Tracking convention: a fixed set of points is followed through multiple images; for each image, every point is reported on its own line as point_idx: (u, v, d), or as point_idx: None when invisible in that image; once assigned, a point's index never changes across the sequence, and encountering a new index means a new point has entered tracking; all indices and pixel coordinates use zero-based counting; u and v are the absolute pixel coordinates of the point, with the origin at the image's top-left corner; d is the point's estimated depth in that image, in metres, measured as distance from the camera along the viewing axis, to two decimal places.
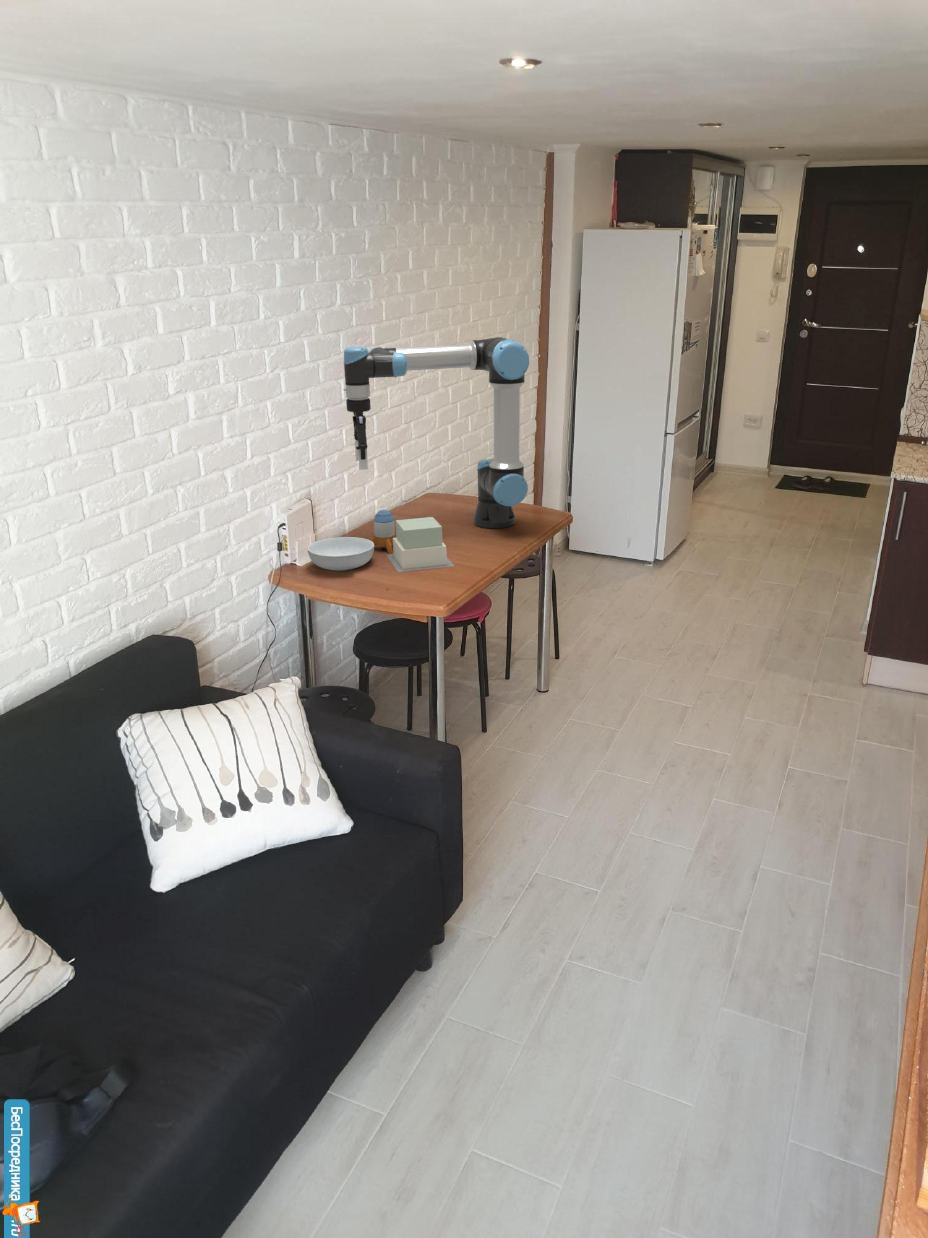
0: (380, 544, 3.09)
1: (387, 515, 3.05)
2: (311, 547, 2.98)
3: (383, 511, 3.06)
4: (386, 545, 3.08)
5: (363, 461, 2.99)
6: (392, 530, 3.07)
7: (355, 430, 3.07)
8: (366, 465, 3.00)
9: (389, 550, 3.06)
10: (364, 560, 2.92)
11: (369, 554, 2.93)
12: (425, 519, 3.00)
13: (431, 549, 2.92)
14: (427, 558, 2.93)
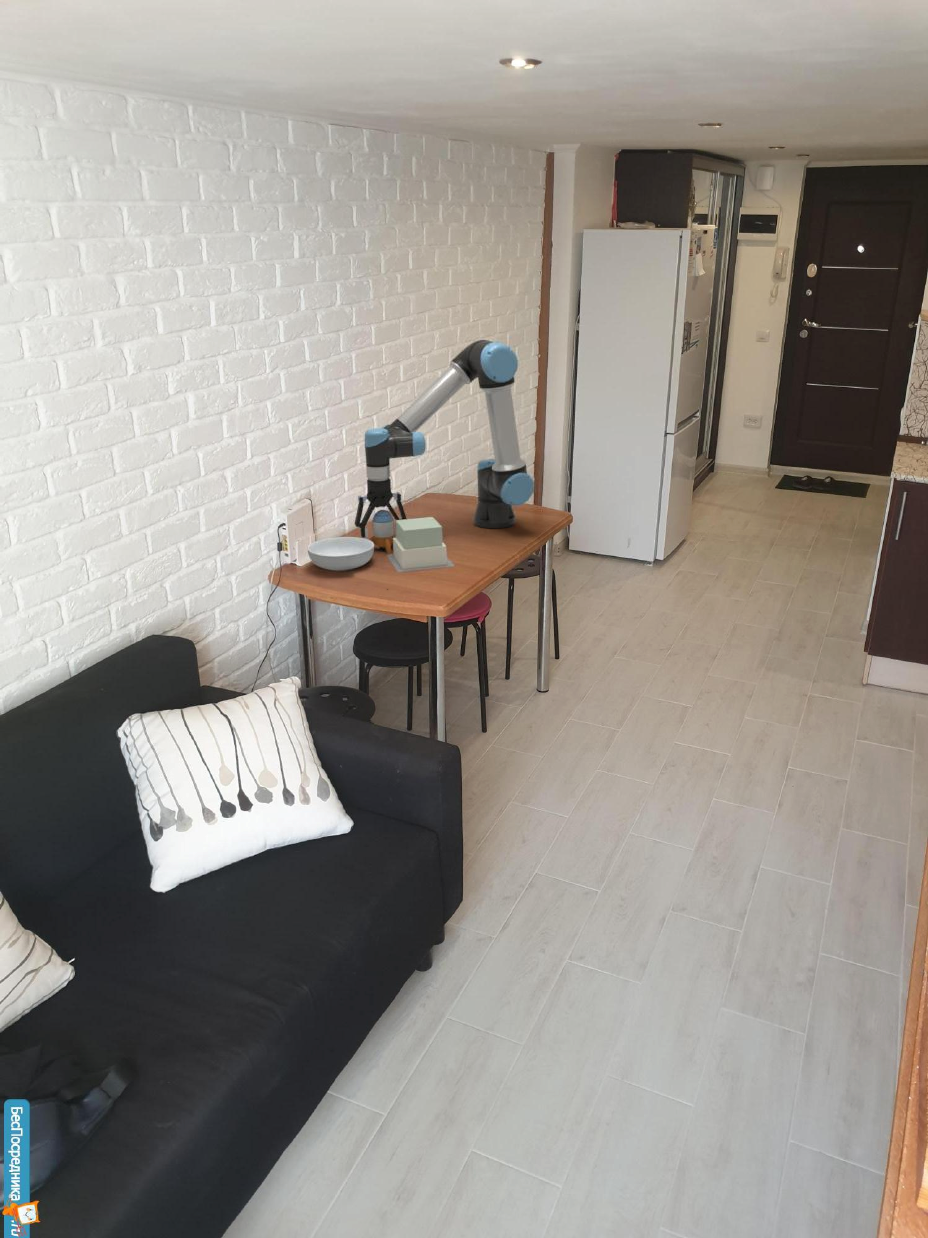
0: (379, 544, 3.09)
1: (386, 515, 3.05)
2: (311, 547, 2.98)
3: (382, 511, 3.06)
4: (385, 545, 3.07)
5: None
6: (391, 530, 3.07)
7: None
8: None
9: (388, 550, 3.06)
10: (364, 560, 2.92)
11: (369, 554, 2.93)
12: (425, 519, 3.00)
13: (431, 549, 2.92)
14: (427, 558, 2.93)
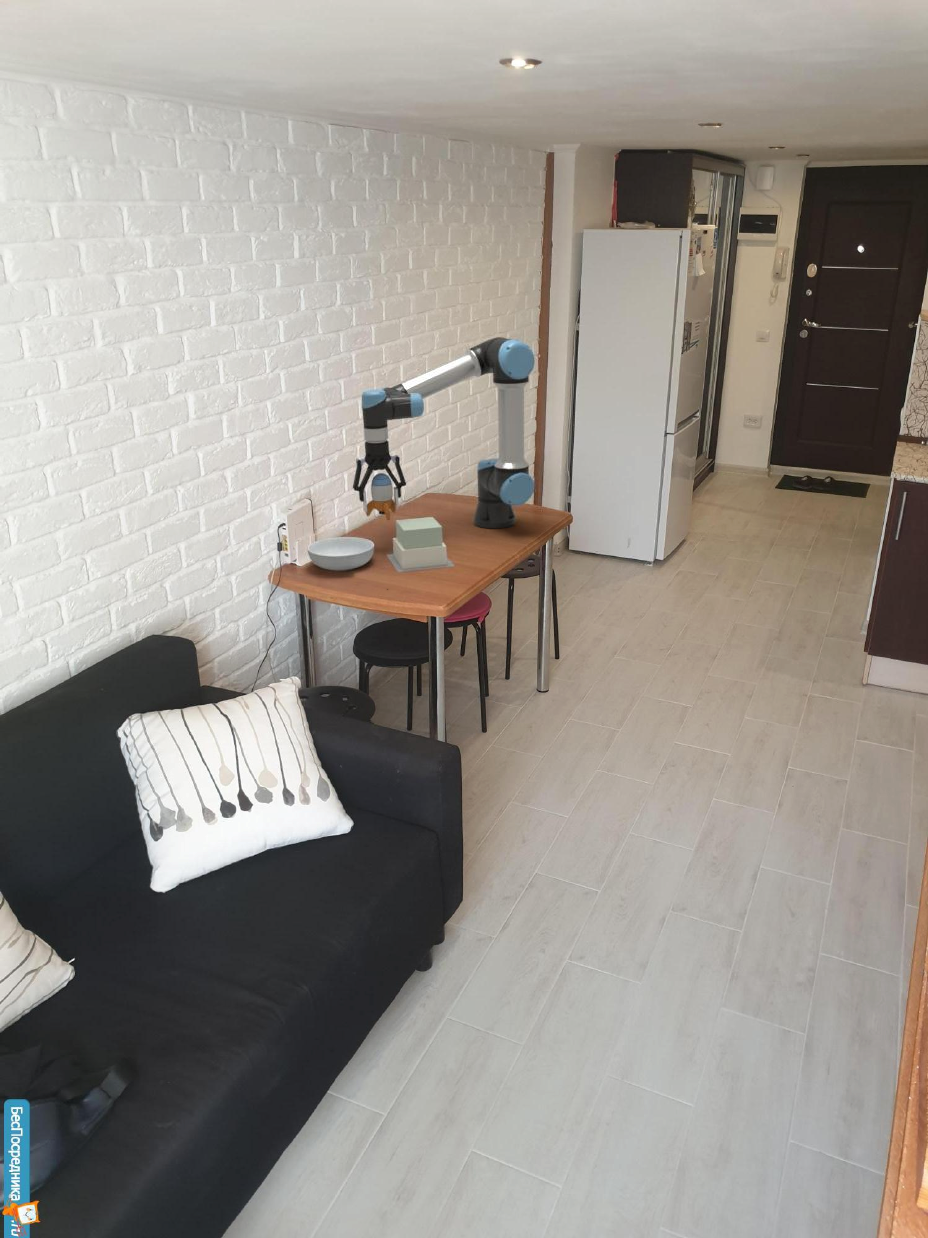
0: (378, 508, 3.04)
1: (385, 478, 3.01)
2: (311, 547, 2.98)
3: (380, 474, 3.01)
4: (384, 509, 3.03)
5: (363, 503, 3.05)
6: (390, 493, 3.03)
7: None
8: (364, 508, 3.05)
9: (387, 514, 3.02)
10: (364, 560, 2.92)
11: (369, 554, 2.93)
12: (425, 519, 3.00)
13: (431, 549, 2.92)
14: (427, 558, 2.93)
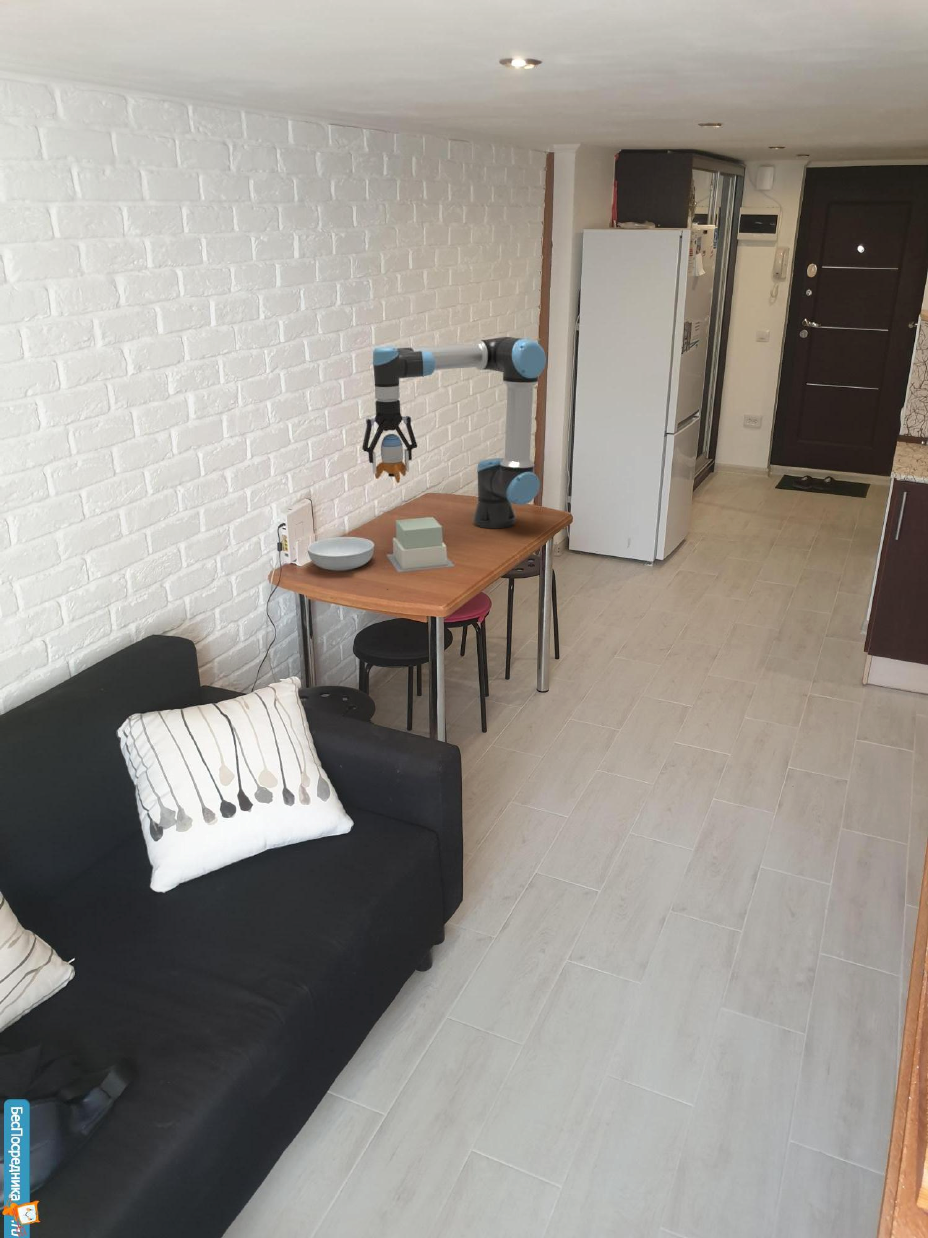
0: (387, 470, 2.95)
1: (395, 439, 2.92)
2: (311, 547, 2.98)
3: (391, 435, 2.92)
4: (394, 471, 2.94)
5: (373, 465, 2.96)
6: (400, 455, 2.94)
7: None
8: (373, 469, 2.95)
9: (397, 476, 2.93)
10: (364, 560, 2.92)
11: (369, 554, 2.93)
12: (425, 519, 3.00)
13: (431, 549, 2.92)
14: (427, 558, 2.93)
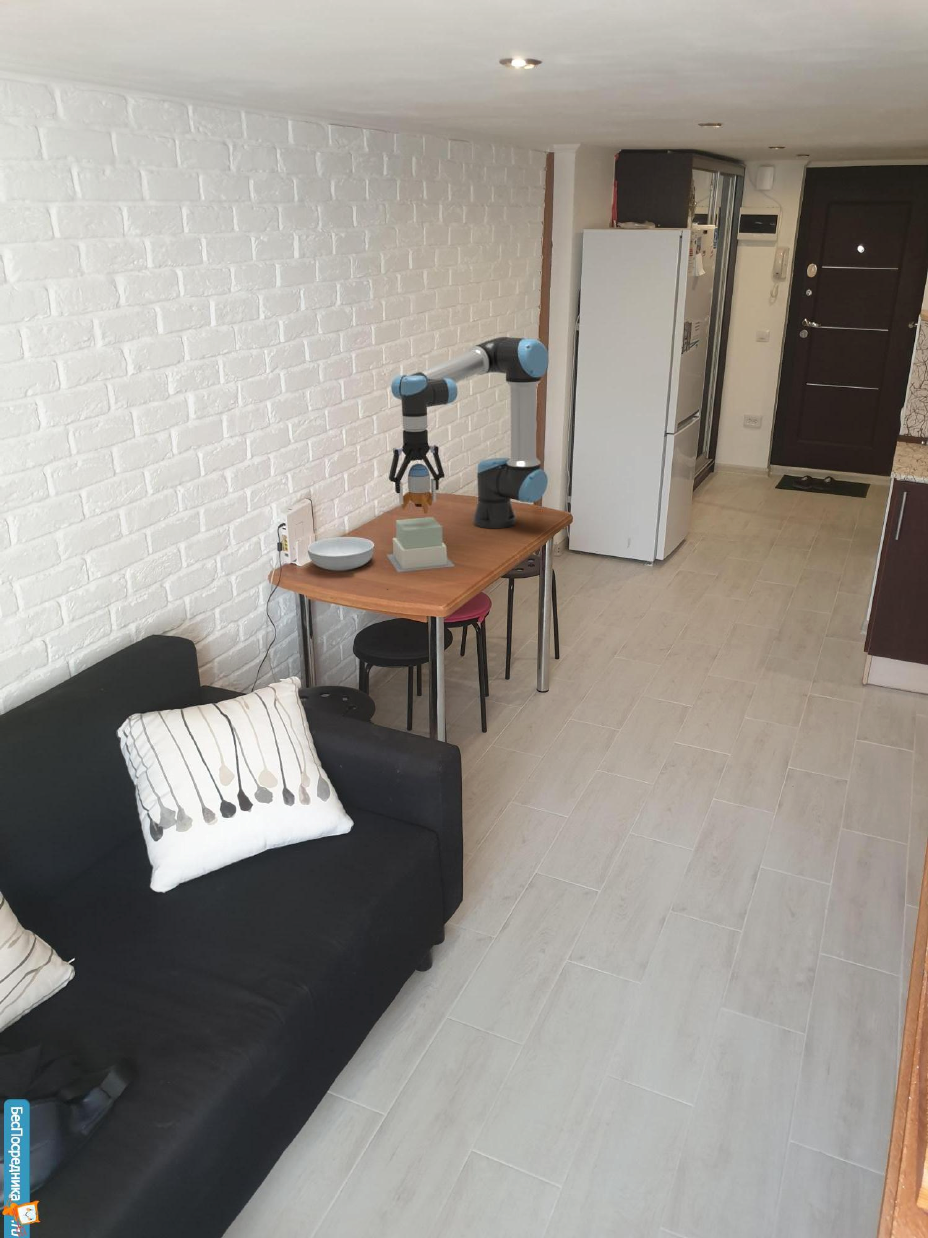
0: (414, 500, 2.90)
1: (423, 469, 2.87)
2: (311, 547, 2.98)
3: (418, 465, 2.87)
4: (421, 501, 2.89)
5: (399, 495, 2.90)
6: (427, 485, 2.88)
7: (426, 465, 2.91)
8: (400, 500, 2.90)
9: (424, 506, 2.87)
10: (364, 560, 2.92)
11: (369, 554, 2.93)
12: (425, 519, 3.00)
13: (431, 549, 2.92)
14: (427, 558, 2.93)
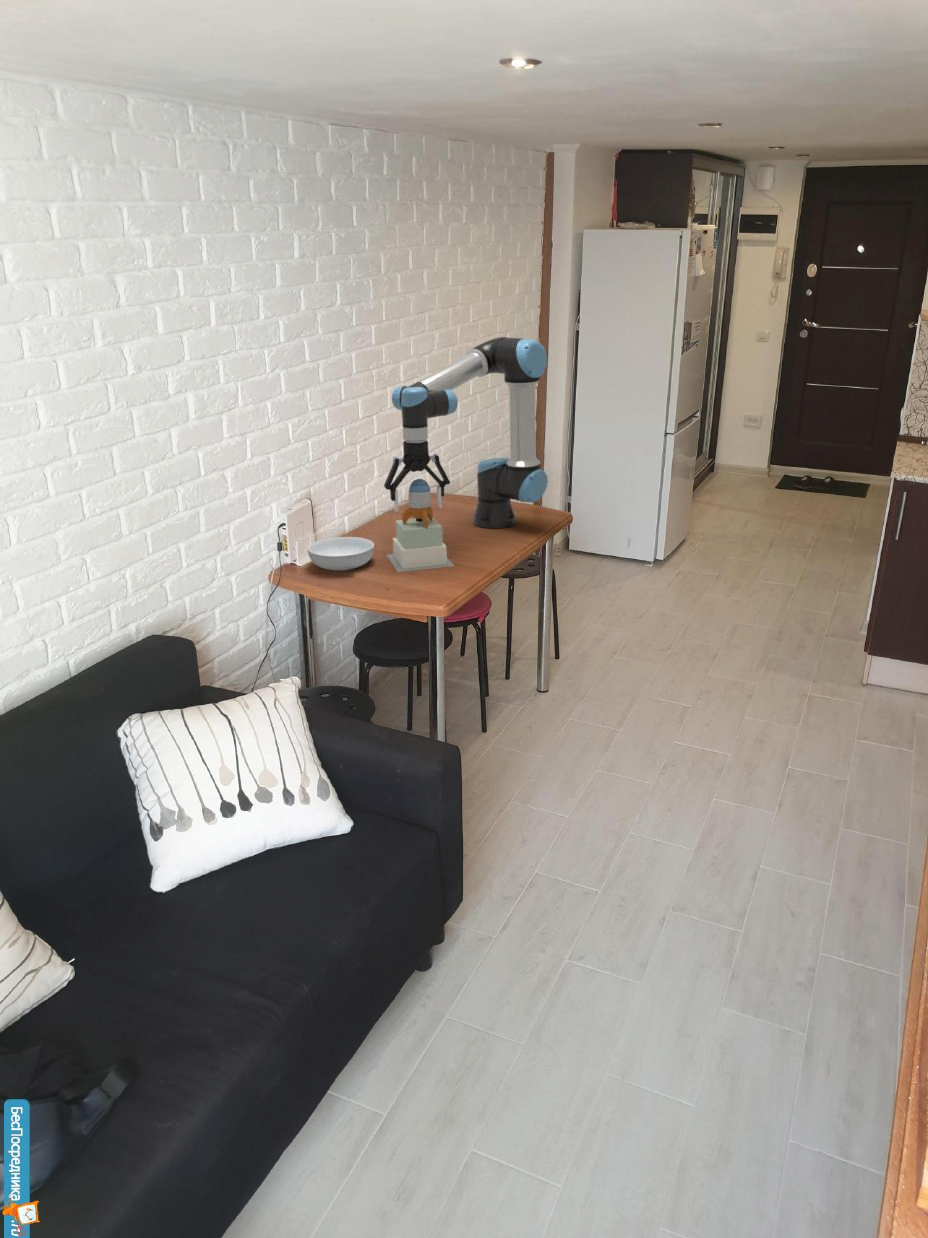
0: (415, 515, 2.92)
1: (424, 484, 2.89)
2: (311, 547, 2.98)
3: (419, 480, 2.89)
4: (422, 516, 2.91)
5: (395, 502, 2.91)
6: (428, 500, 2.90)
7: None
8: (395, 507, 2.91)
9: (425, 521, 2.89)
10: (364, 560, 2.92)
11: (369, 554, 2.93)
12: None
13: (431, 549, 2.92)
14: (427, 558, 2.93)
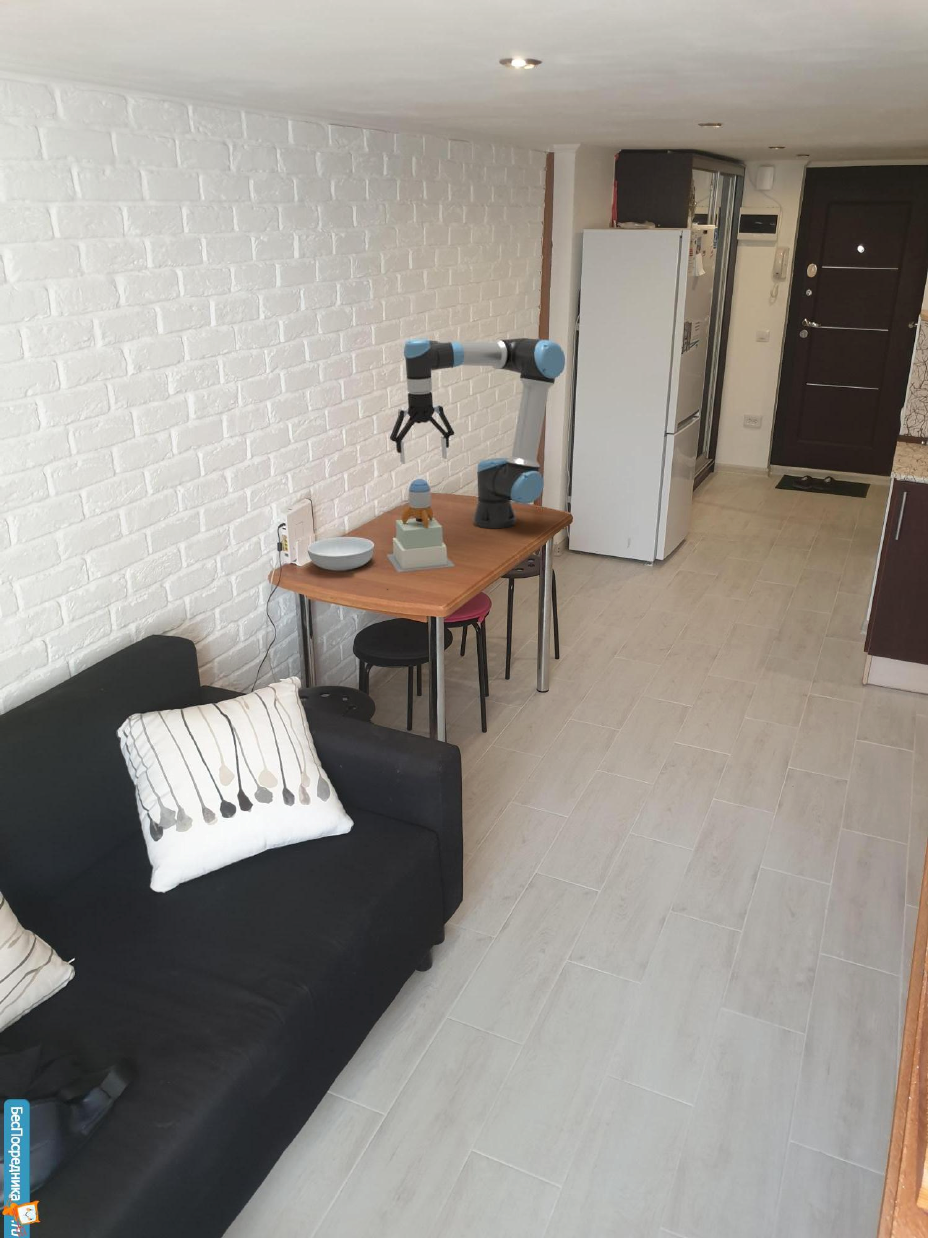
0: (415, 515, 2.92)
1: (423, 484, 2.89)
2: (311, 547, 2.98)
3: (419, 480, 2.89)
4: (422, 516, 2.91)
5: (401, 454, 2.95)
6: (428, 500, 2.90)
7: None
8: (402, 459, 2.95)
9: (425, 521, 2.89)
10: (364, 560, 2.92)
11: (369, 554, 2.93)
12: None
13: (431, 549, 2.92)
14: (427, 558, 2.93)
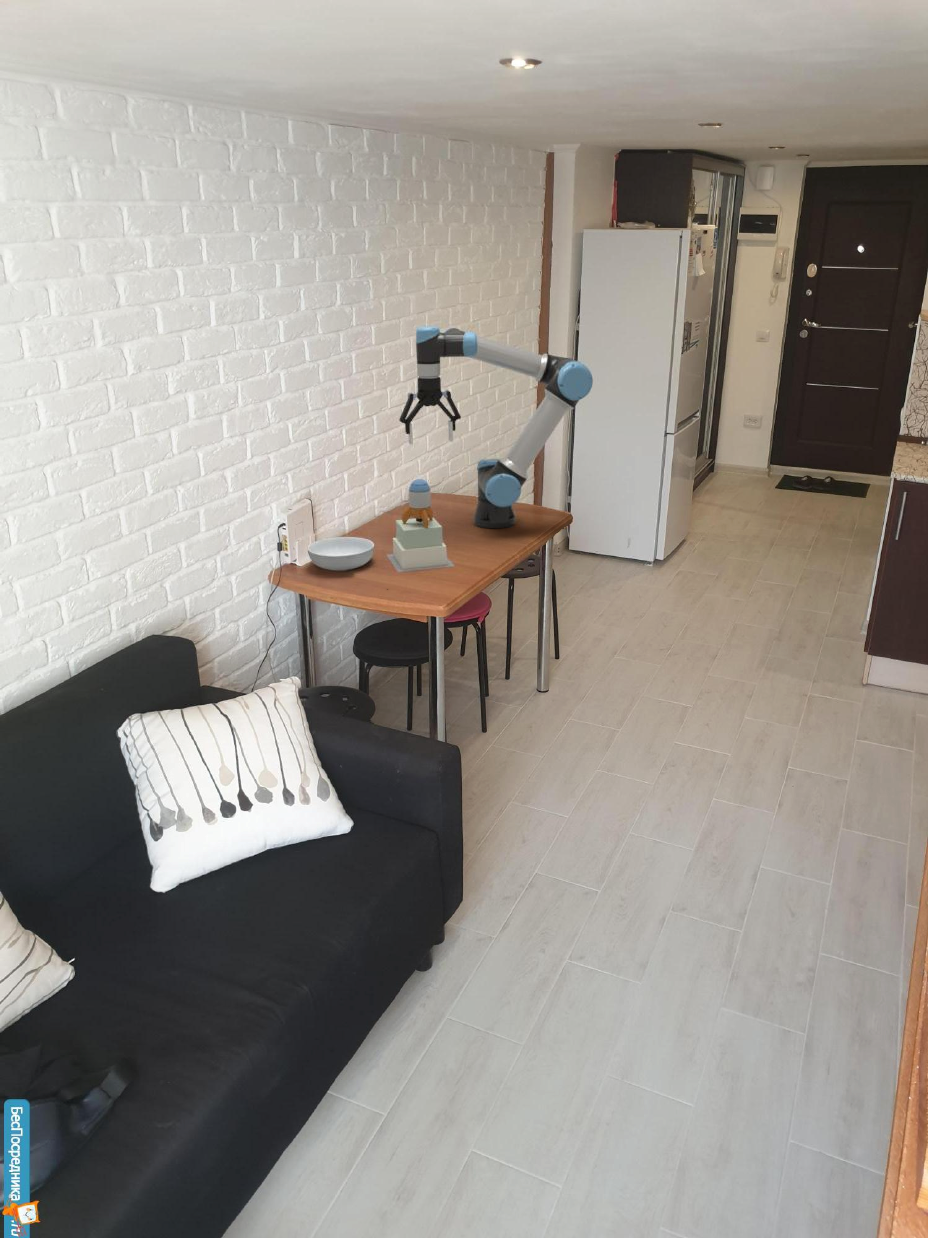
0: (415, 515, 2.92)
1: (424, 484, 2.89)
2: (311, 547, 2.98)
3: (419, 480, 2.89)
4: (422, 516, 2.91)
5: (409, 436, 3.11)
6: (428, 500, 2.90)
7: None
8: (410, 440, 3.11)
9: (425, 521, 2.89)
10: (364, 560, 2.92)
11: (369, 554, 2.93)
12: None
13: (431, 549, 2.92)
14: (427, 558, 2.93)
